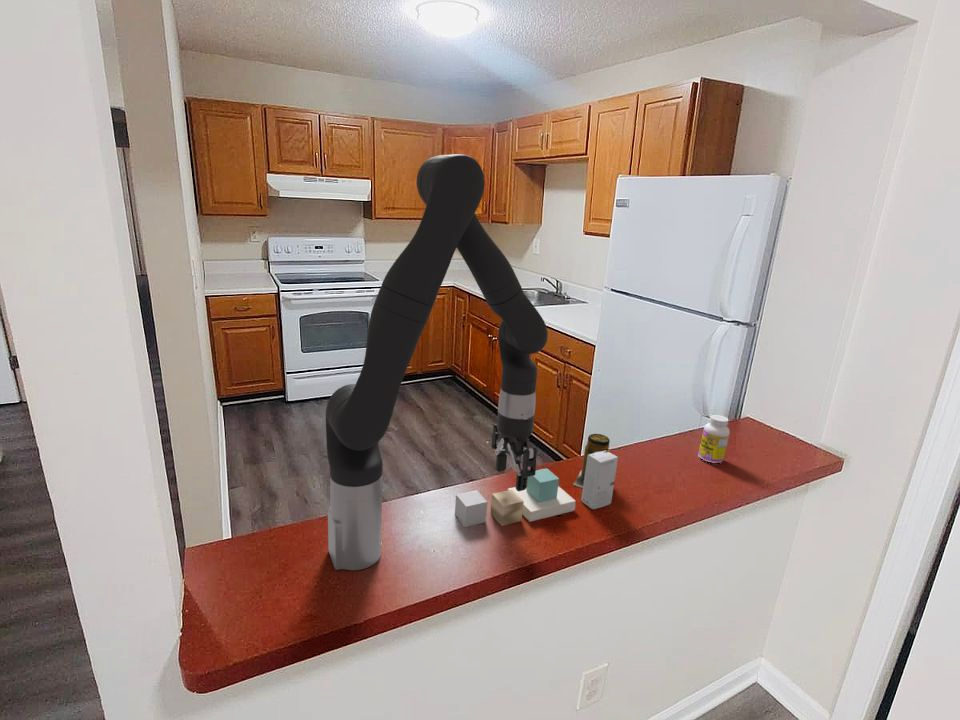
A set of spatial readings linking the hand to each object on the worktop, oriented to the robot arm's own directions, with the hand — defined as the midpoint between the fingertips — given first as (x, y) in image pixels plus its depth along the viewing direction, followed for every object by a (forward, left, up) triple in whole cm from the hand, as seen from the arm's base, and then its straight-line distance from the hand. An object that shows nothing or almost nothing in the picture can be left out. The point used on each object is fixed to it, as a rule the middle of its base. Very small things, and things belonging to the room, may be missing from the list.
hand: (510, 479), depth 113 cm
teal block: (+10, +1, -7) cm, 12 cm away
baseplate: (+10, +1, -9) cm, 13 cm away
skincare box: (+23, -3, -9) cm, 25 cm away
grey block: (-8, +2, -9) cm, 12 cm away
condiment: (+28, +5, -9) cm, 30 cm away
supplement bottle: (+69, +3, -9) cm, 69 cm away
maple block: (0, 0, -9) cm, 9 cm away
